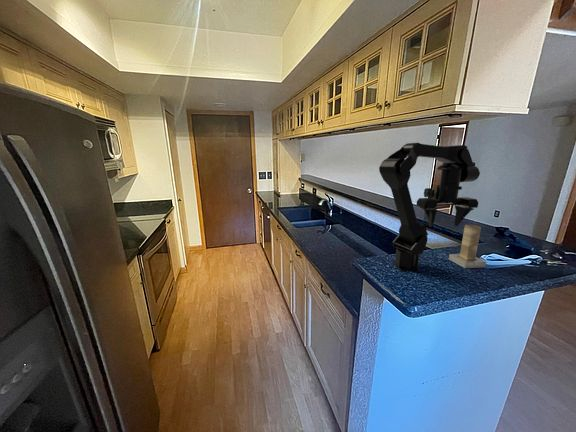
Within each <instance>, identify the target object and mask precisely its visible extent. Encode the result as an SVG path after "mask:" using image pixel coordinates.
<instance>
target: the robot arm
mask: <svg viewBox="0 0 576 432" xmlns="http://www.w3.org/2000/svg"><path fill="white" fill-rule="evenodd" d="M419 157H420V158H427V159H428V158H429V159H435V160H437V161H438V162H441V165H439V166H438V167H437V168H436V169H437V170H439V171H441V172H440V180H439V181H440V182H439V185H438V184H437V185H436V188H435V189H432V187H431V188H430V187H428V188H424V190H423V196H424V197H419V198H418V199H417V200H416V206H417V207H419V208H420V209H422V210H423V211H424V212H425V213H424V214H426V217H427V218H426V219H427V223H428V225H429V227H433V226H434V223H435V219H436V215H437V212H438V208H437V206H454V208H455V217H454V226H455V227H459V225H460V223H462V221H463V220H464V219H465V218H466V216H468V214H470V213H471V212H472V211H474V209H475V208H478V207H479V201H478V199H477V198H473V197H465V196H461V197H458V196H459V191H460V190H462V189H463V186H460V183H464V182H465V183H469V182H474V181H476V180H477V179H478V178H479V177H480V173H481V171H480V170H479V167H477V166H476V162H474V161H473V159H472V156H471V153H470V150H469V148H468V146H467V145H465V144H460V145H458V144H457V145H456V144H455V145H444V146H443V145H442V146H440V145H432V144H424V143H420V142H409V143H408V142H407V143H405V144H404V145H403V146H402V147H401V148H400V149H398V150H396V151H395V152H393V153H392V154H390V155H388V157H387V158H385V159H384V160H382V161H381V163H380V164H379V165H380V166H379V167H378V169H379V170H378V171H379V174H380V176H381V179H382V180H383V181H384V182H385V184H386V185H387V186H388V187H389V188H390V190H391V194H392V197H393V200H394V204H395V207H396V211H397V214H398V219H399V221H400V226H399V229H398V235H397V236H396V237H395V238H394V240H393V241H392V242H391V243H392V247H393V248H395V249H396V251H395V260H394V261H392V264H393V265H394V266H395V267H396V268H398V269H399V271H419V270H420V268H419V267H418V266H419V260H420V255H422V254H423V253H424V250H425V248H426V246H427V243H428V235H429V233H428V231H427V226H426V224H424V223H420V222H418V220H417V215H416V212H415V208H414V205H413V200H412V197H411V193H410V189H409V188H410V187H409V185H408V183H409V181H410V178H411V176H412V175H411V170H412V169H413V168H414V167H415V166H416V164H417V160H418V158H419Z"/></svg>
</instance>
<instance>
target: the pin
mask: <svg viewBox="0 0 576 432" xmlns="http://www.w3.org/2000/svg"><path fill="white" fill-rule="evenodd" d="M481 229H482V227H481V226H480V225H476V224H464V228H463V235H462V238H461V239H462V240H461V241H462V242H461V247H460V252H459V254H460V258H462V259H464V260H466V261H474V260H475V258H476V257H477V252H478V246H479V241H480V240H479V239H480V236H481V231H482V230H481Z"/></svg>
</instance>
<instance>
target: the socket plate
mask: <svg viewBox="0 0 576 432" xmlns="http://www.w3.org/2000/svg"><path fill="white" fill-rule="evenodd" d="M448 260H449V261H451V262H453V263H455V264H456V265H459V266H460V267H462V268H464V269H477V268H479V269H480V268H486V265H487V261H485V260H484V259H481V258H479V257H477V256H476V258H475V260H474V261H466V260H464V259H462V258H460V253H449V255H448Z"/></svg>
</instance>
